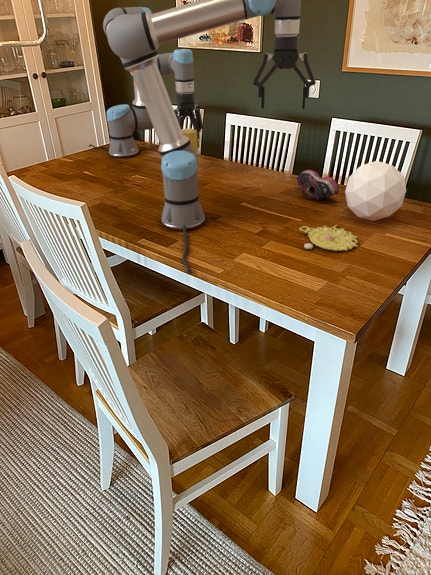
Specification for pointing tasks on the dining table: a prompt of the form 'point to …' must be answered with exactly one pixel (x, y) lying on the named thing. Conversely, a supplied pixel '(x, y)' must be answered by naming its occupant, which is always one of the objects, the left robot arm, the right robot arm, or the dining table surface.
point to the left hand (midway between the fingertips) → (188, 148)
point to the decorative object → (330, 238)
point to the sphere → (375, 190)
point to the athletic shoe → (317, 185)
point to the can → (191, 137)
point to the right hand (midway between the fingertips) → (282, 107)
